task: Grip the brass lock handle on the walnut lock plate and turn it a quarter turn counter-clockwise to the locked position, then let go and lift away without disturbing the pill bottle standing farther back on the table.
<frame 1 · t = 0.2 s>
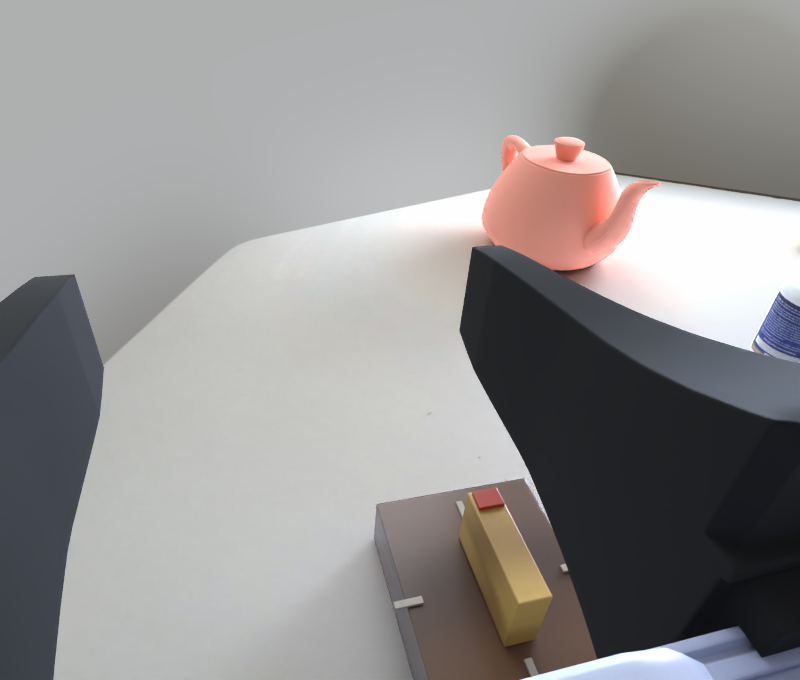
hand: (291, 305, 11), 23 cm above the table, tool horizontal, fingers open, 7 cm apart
lock plate: (484, 617, 30), on the table
pill bottle: (779, 362, 52), on the table
teapot: (548, 252, 67), on the table
lock handle: (500, 561, 28), point 5 cm above the table, hinge at 0.0°
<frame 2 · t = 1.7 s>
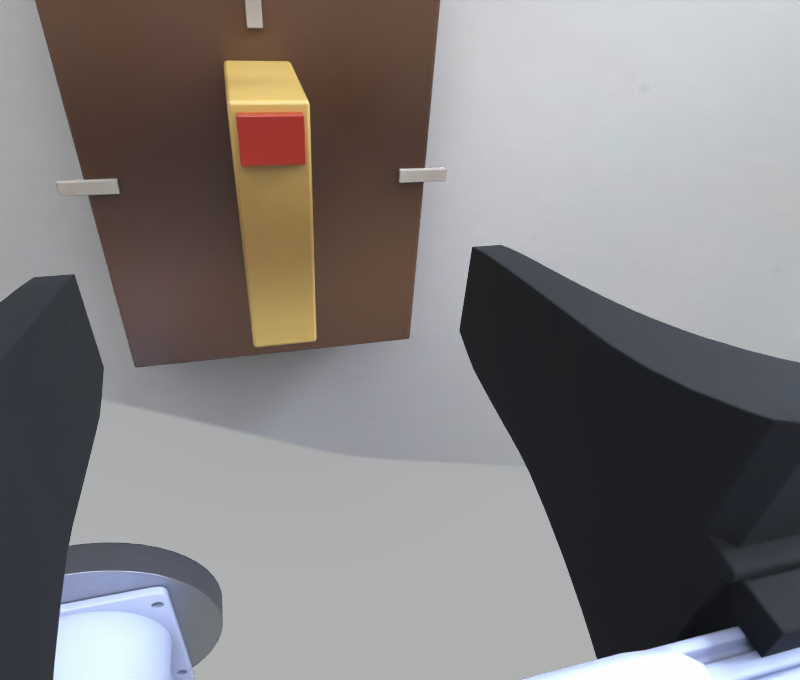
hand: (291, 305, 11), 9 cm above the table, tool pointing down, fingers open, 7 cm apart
lock plate: (259, 142, 18), on the table
lock handle: (272, 209, 14), point 5 cm above the table, hinge at 0.0°
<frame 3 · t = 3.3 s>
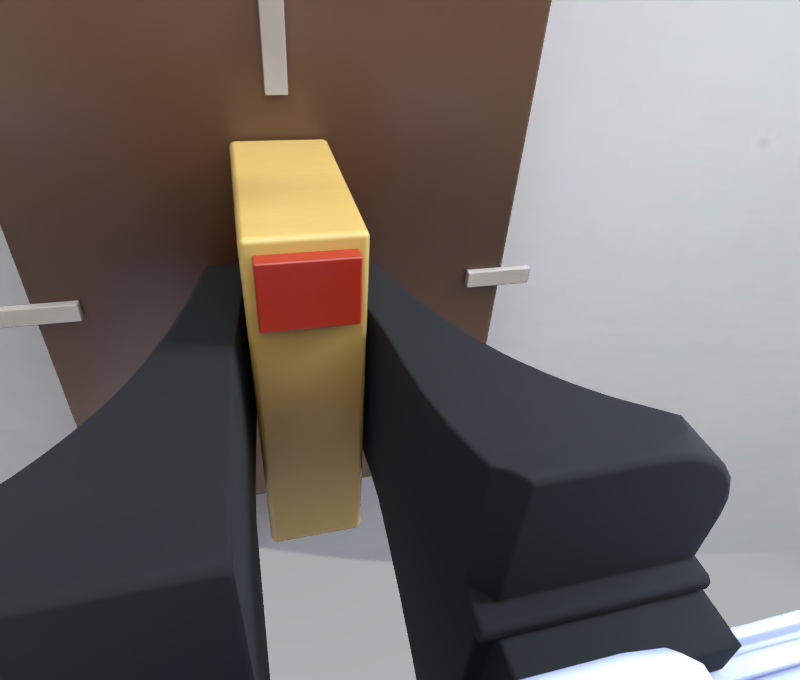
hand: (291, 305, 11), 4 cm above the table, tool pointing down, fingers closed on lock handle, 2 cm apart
lock plate: (274, 223, 14), on the table
lock handle: (299, 350, 10), point 5 cm above the table, hinge at 0.1°, touching gripper
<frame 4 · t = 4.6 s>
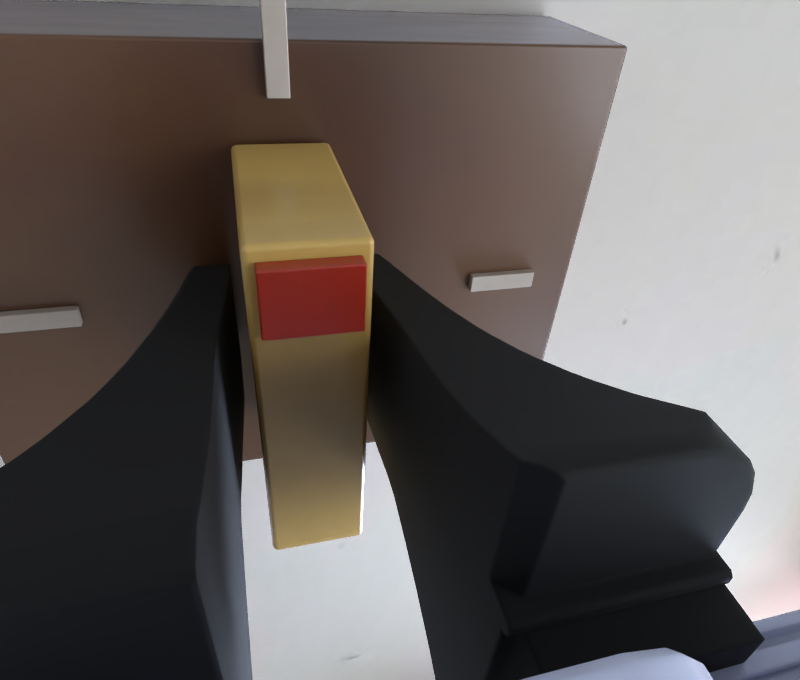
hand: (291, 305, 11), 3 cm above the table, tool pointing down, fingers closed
lock plate: (276, 226, 14), on the table
lock handle: (301, 356, 10), point 5 cm above the table, hinge at 90.0°
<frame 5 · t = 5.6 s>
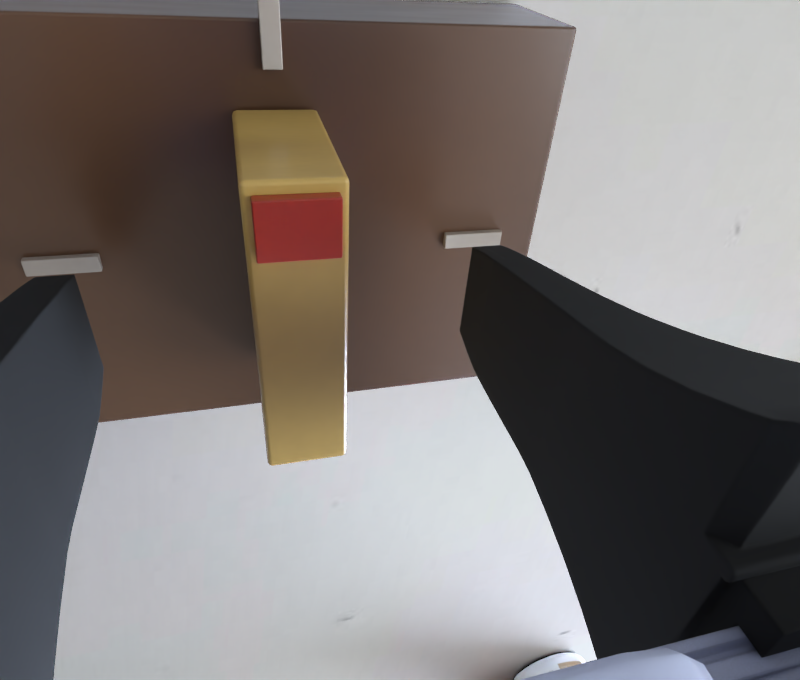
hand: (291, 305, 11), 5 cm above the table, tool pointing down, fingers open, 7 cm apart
lock plate: (272, 194, 15), on the table
pill bottle: (544, 667, 40), on the table
lock handle: (293, 295, 11), point 5 cm above the table, hinge at 90.0°
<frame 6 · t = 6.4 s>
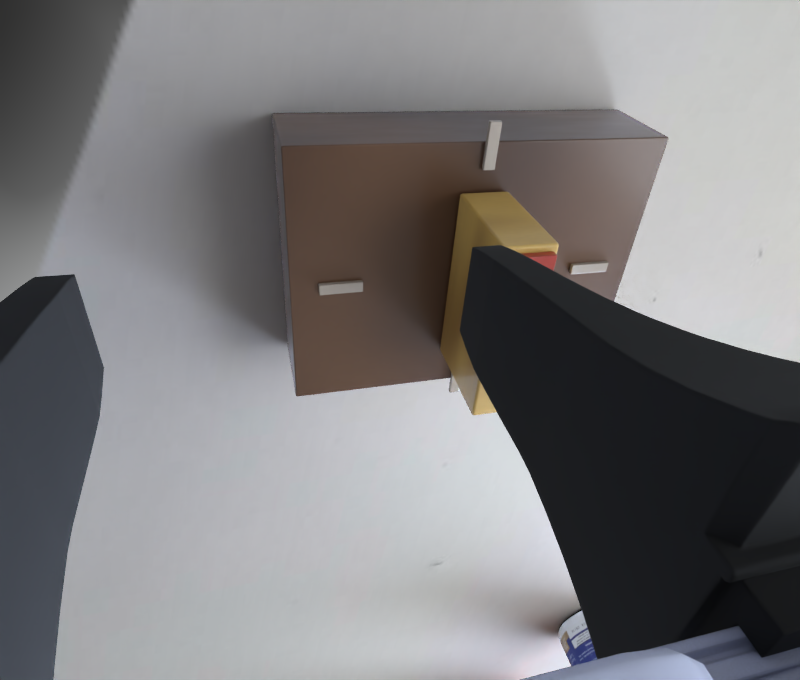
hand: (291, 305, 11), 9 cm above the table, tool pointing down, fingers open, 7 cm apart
lock plate: (443, 235, 22), on the table
pill bottle: (586, 618, 47), on the table
lock handle: (491, 307, 18), point 5 cm above the table, hinge at 90.0°
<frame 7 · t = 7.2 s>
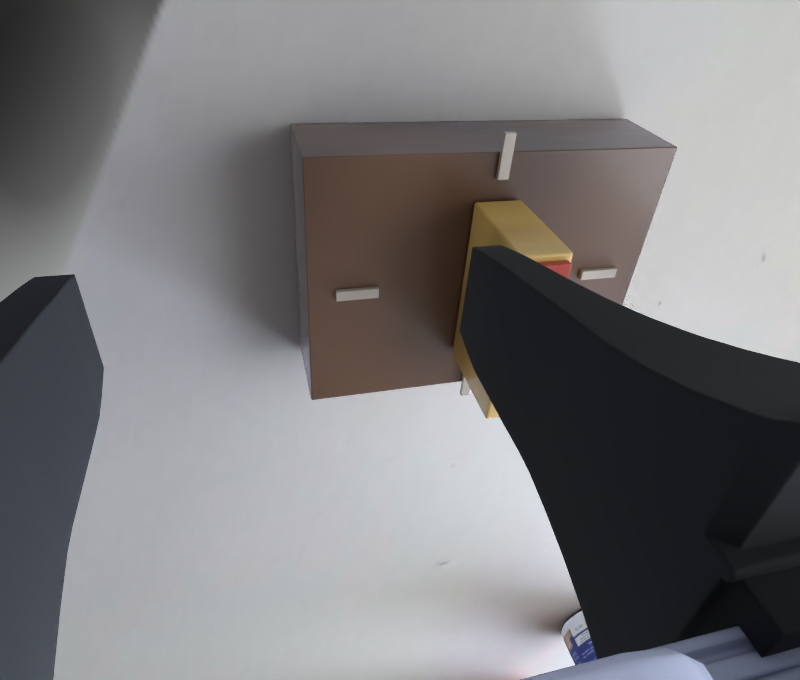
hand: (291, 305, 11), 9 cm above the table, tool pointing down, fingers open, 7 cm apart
lock plate: (454, 241, 22), on the table
pill bottle: (588, 616, 47), on the table
lock handle: (504, 313, 19), point 5 cm above the table, hinge at 90.0°
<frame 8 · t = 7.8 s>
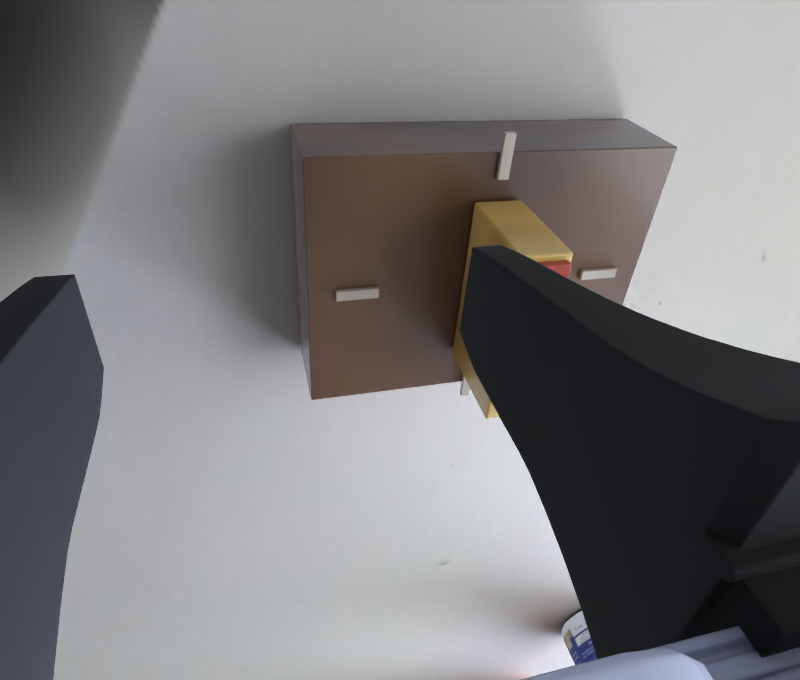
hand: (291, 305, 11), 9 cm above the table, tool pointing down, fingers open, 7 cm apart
lock plate: (454, 241, 22), on the table
pill bottle: (588, 616, 47), on the table
lock handle: (504, 313, 19), point 5 cm above the table, hinge at 90.0°
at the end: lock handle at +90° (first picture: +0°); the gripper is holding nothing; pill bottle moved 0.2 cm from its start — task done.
